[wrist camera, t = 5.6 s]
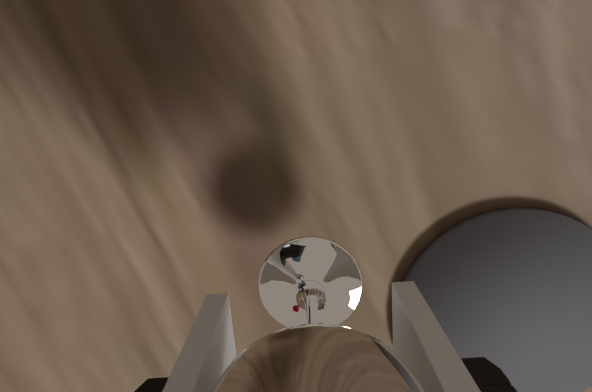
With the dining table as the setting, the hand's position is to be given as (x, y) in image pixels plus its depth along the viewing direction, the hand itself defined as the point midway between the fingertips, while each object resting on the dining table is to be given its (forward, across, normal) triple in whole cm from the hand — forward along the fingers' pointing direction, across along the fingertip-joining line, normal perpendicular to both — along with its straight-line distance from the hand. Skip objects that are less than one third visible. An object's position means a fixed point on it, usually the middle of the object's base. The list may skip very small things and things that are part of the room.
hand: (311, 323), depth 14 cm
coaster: (+7, +10, -4) cm, 13 cm away
